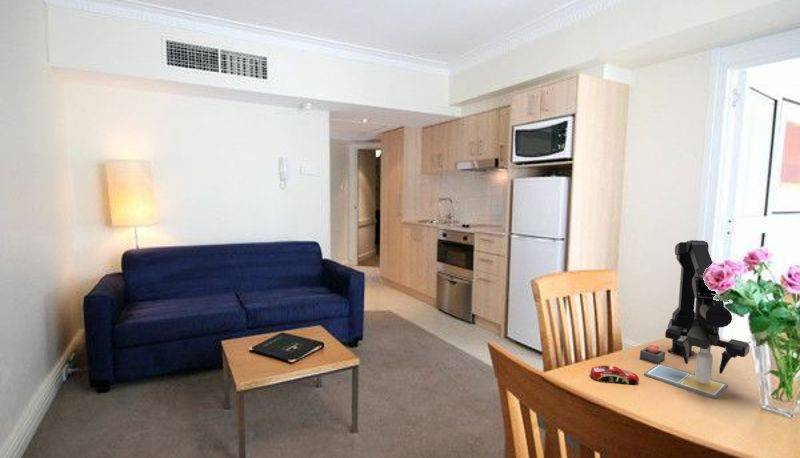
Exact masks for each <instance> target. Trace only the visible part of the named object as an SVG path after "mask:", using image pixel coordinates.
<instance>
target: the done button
mask: <svg viewBox="0 0 800 458" xmlns="http://www.w3.org/2000/svg"><path fill="white" fill-rule="evenodd" d="M646 347H647V352H649V353H653V354H658V350H660V349H659V347H658V346H657V345H654V344H653V345H652V344H649V345H646Z"/></svg>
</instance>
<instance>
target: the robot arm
mask: <svg viewBox="0 0 800 458" xmlns="http://www.w3.org/2000/svg"><path fill="white" fill-rule="evenodd" d="M674 254H675V256H676V257H675V259H676V260H677V262H678V264H679V265H680V266H681V267H680V280H679V281H680V283H679V294H678V307H677V308H676V309H675V310H674V311H673V313H672V314H671V315H672V316H671V318H670V320H669V321H668V324H667V329H665V333H664V334H665V335H664V336H665V338H666V339H670V340H672V342H671V343H672V344H671V347H670V348H669V349H668V350H667V352H668V353H670V354H675V355H679V356H682V358H683V361H684V363H685V364H686V365H688V364H689V362H690V361H689V360H690V358H691V357H692V356H693V355H695V354H696V351H694V350H692V349H693V347H695V348H696V347H697V348H699V349H700V348H702V349H708V348H709V346H711V347H712V346H714V347H719V348H724V351H723V352H721V359H720V360H721V361H720V365H719V368H718V369H719V371H718V372H719V373H718V374H720V375H721V374H723V372H724V370H725V369H726V367H727V365H729V364H728V363H729V362H730V360H731V359H732V358H734V359H735V358H737V357H740V358H745V357H747V355H748V354H749V353H750V347H751V346H750V344H749V343H748V342H747V341H742V340H738V339H733V338H731V339H729V340H728V341H726V340H721V339H720V332H719V331H720V328H725V327H727V326H729V325H730V324H731V323H732V322H733V316H732V313H731V312H730V310H729V309H727V307H726V306H725V302H726V303H727V302H728V303H730V302H729V301H724V302H723V301H720V300H719V301H716V300H713V297H714V296H715V295H717V294H716V292H715V291H711V290H709V289H708V287H707V286H706V285H705V283H704V280H703V273H704V271H705V269H706V268H708V267H709V266H710V265H711V264H712V263H713V260H712V257H711V254H710V250H709V243H708V241H705V240H695V239H690V240H688V241H685V242H684V241H680V242H678V243H676V244H675V247H674ZM713 264H714V263H713Z"/></svg>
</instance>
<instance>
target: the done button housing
mask: <svg viewBox="0 0 800 458" xmlns="http://www.w3.org/2000/svg"><path fill="white" fill-rule="evenodd" d="M639 360H641V361H644V362H647V361H648V362H647V363H650V362H651V364H654V365H657V364H663V362H665V360H666V351H663V350H660V349H659V350H658V354H653V353H649V352H647V346H646V347H644V348H643V349H641V350H640V351H639Z"/></svg>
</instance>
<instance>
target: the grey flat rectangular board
mask: <svg viewBox="0 0 800 458" xmlns="http://www.w3.org/2000/svg"><path fill="white" fill-rule="evenodd" d="M643 376H644V377H648V378H650V379H652V380H656V381H659V382H662V383H664V384H668V385H671V386H674V387H678V388H680V389H684V390H686V391H689V392H693V393H695V394H698V395H702V396H704V397H707V398H711V399H714V400H716V399H718V398H719V397H720V396H721V394H723V392H724V391H725V390H726V389H727V388H728V387H729V384H727V383H724V382H721V381H718V380H715V379H712V378H711V381H710V382H709V383H705V384H704V383H700V382H697V381H695V373H692V372H690V371H688V372H687V371H684V370H682V369H678V368H675V367H673V366H672V367H671V366H668V365H665V364H663V363H660V364H655V366H652V368H650V369H649V370H647V371H646V372H645V373H643Z"/></svg>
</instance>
